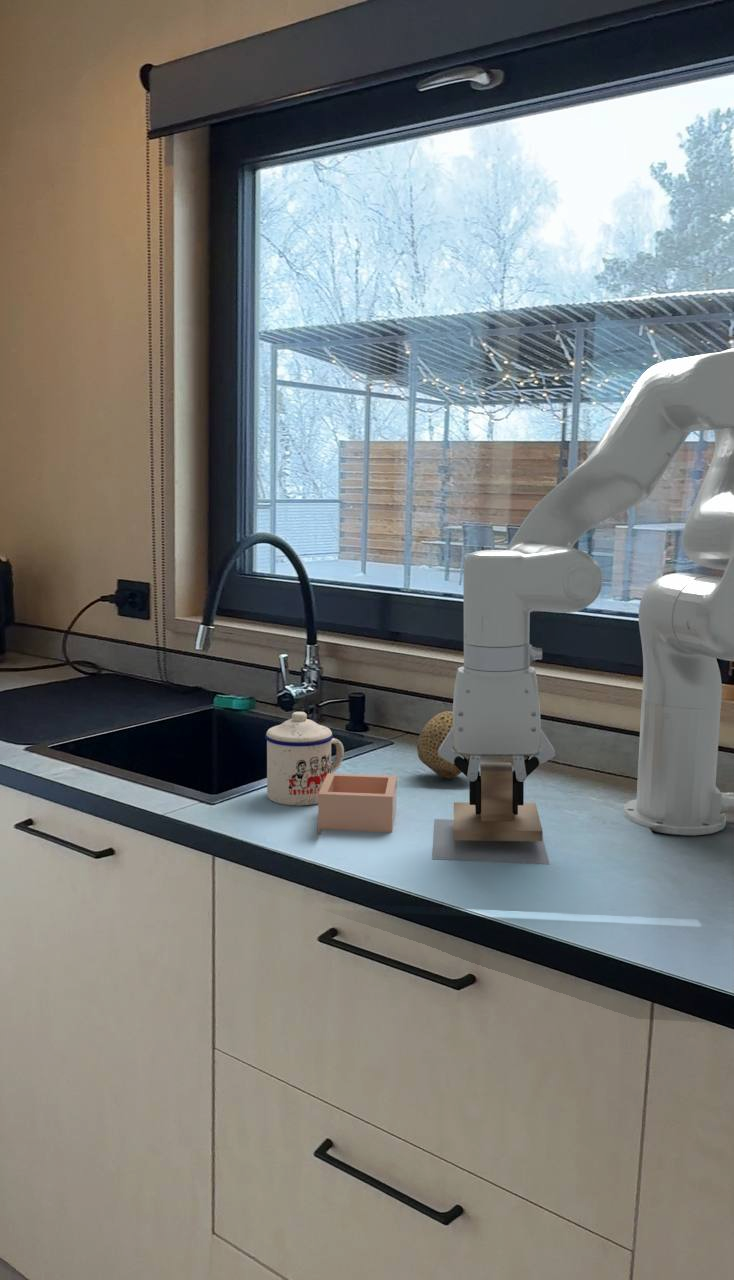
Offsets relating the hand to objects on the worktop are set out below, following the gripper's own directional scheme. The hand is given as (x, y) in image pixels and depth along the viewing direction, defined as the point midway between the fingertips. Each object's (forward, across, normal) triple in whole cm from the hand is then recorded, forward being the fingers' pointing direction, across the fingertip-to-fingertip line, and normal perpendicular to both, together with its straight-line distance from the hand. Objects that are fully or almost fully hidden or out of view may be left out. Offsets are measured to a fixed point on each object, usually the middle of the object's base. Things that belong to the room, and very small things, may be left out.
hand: (496, 809), depth 121 cm
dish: (+4, +17, -6) cm, 18 cm away
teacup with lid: (+4, +25, -16) cm, 30 cm away
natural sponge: (+5, +6, -26) cm, 28 cm away
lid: (+2, 0, 0) cm, 2 cm away
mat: (+4, +1, 0) cm, 4 cm away
